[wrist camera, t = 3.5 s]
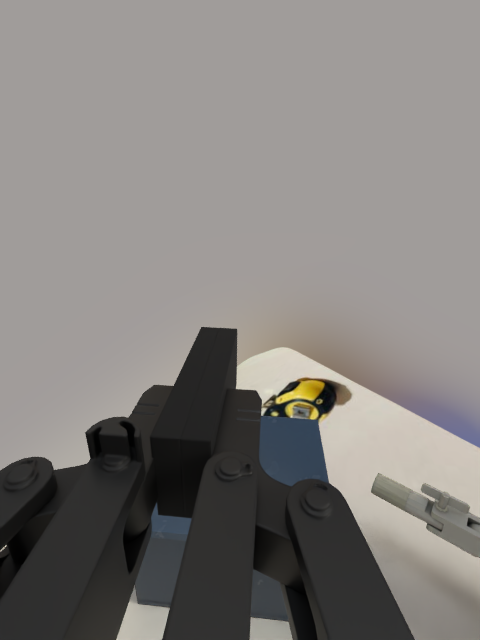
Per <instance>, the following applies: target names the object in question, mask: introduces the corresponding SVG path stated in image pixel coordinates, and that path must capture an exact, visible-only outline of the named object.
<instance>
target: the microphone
mask: <svg viewBox="0 0 480 640" xmlns="http://www.w3.org/2000/svg"><path fill="white" fill-rule="evenodd" d="M421 491H422V492H423V493H425V494H427V495H429V496H431V497H433V498H435V502H433V501H431V500H429V499H428V498H426V497H424V496H422V495H420V494H419V493H417V492H415V491H413V490H411V489H409V488H407V487H405V486H403V485H401V484H399V483H397V482H395V481H394V480H392V479H390V478H388V477H386V476H384V475H382V474H379V473H378V475H377V476H376V478H375V481H374V483H373V486H372V489H371V492H372V493H373V494H374V495H376V496H378V497H380V498H382V499H384V500H385V501H387V502H389V503H391V504H393V505H394V506H396V507H398V508H400V509H402V510H404V511H405V512H407V513H409V514H411V515H413V516H415V517H417V518H419V519H421V520H423V521H425V522H426V523H427V526H426V528H427V530H428V531H430V532H432V533H434V534H436V535H437V536H439V537H441V538H443V539H444V540H446V541H448V542H450V543H452V544H453V545H455V546H457V547H459V548H460V549H462V550H464V551H466V552H467V553H469V554H471V555H473V556H475V557H479V558H480V518H479V517H477V516H475V515H473V514H471V513H469V509H470V506H469V505H468V504H467V503H465V502H463V501H461V500H458V499H456V498H454V497H452V496H450V495H449V494H448V493H447V492H445V491H444V492H442V491H440V490H438V489H436V488H434V487H432V486H430V485H428V484H426V483H425V484H423V485H422V488H421Z"/></svg>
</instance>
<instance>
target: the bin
mask: <svg viewBox="0 0 480 640" xmlns="http://www.w3.org/2000/svg"><path fill="white" fill-rule="evenodd" d="M185 544H186V541H180V540H170V539H160V538H150V540H149V543H148V546H147V549H146V552H145V555H144V558H143V561H142V564H141V567H140V570H139V573H138V576H137V579H136V582H135V588H136V594H137V601H138V604H145V605H154V606H162V607H170V606H171V602H172V598H173V594H174V589H175V585H176V581H177V577H178V573H179V569H180V565H181V560H182V556H183V552H184V548H185ZM251 617H256V618H265V619H274V620H282V621H289V620H288V616H287V612H286V607H285V603H284V599H283V594H282V590H281V586H280V582H278V581H276V580H274V579H272V578H270V577H268V576H266V575H264V574H262V573H260V572H258V571H256V570H254V569H253V581H252V600H251Z"/></svg>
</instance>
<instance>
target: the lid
mask: <svg viewBox="0 0 480 640" xmlns="http://www.w3.org/2000/svg"><path fill="white" fill-rule="evenodd" d="M259 460H260V464H261V466H262V468H263V469H264V471H265V472H266V473H267V474H268V475H269V476H270V477H272V478H273V479H275V480H277V481H279V482H281V483H284V484H286V485H289V486H293V485H294V484H295V483H296V482H298V481H301V480H304V479H319V480H322V481H324V482H327V483H329V480H328V475H327V469H326V464H325V458H324V453H323V447H322V442H321V436H320V431H319V425H318V420H311V419H297V418H283V417H270V416H261V427H260V446H259ZM191 519H192V518H183V517H172V516H162V515H158V509H157V503H156V505H155V508H154V511H153V514H152V517H151V520H152V533H151V537H150V538H160V539H170V540H180V541H186V540H187V536H188V532H189V527H190V523H191Z"/></svg>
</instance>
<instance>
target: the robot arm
mask: <svg viewBox="0 0 480 640" xmlns="http://www.w3.org/2000/svg"><path fill="white" fill-rule="evenodd" d="M236 375H237V329H229V328H209V327H201V329H200V331H199V334H198V336H197V338H196V340H195V342H194V344H193V346H192V348H191V350H190V353H189V355H188V357H187V359H186V361H185V363H184V365H183V367H182V369H181V371H180V374H179V376H178V378H177V380H176V382H175V384H174V386H164V385H153V386H152V387H151V388H149V389H148V390H147V391H145V392H144V393H143V394H142V396H141V398H140V400H139V401H138V403H137V405H136V406H135V408H134V410H133V411H132V414H131V415H130V416H129V418H126V417H113V418H109V419H105V420H102V421H100V422H98V423H96V424H95V425H93V426H92V427H91V428H90V429H89V430H87V432H86V438H87V443H88V448H89V453H90V458H91V459H90V461H89V462H88V463H87V464H84V465H80V466H76V467H70V468H64V469H58V470H54V469H53V466H52V463H51V462H50V461H49V460H47V459H46V458H42V457H31V458H24V459H21V460H19V461H16V462H14V463H11V464H10V465H8V466H7V467H5V468H4V469H2V470H1V471H0V550H1V549H2V548H3V547H4V546H5V545H6V544H7V547H6V548H5V549H4V550H2V551H1V552H0V640H116V638H117V635H118V633H119V630H120V627H121V624H122V621H123V618H124V615H125V612H126V609H127V606H128V603H129V600H130V597H131V594H132V591H133V588H134V585H135V582H136V579H137V576H138V573H139V570H140V567H141V564H142V561H143V558H144V555H145V552H146V549H147V546H148V543H149V540H150V537H151V533H152V520H151V517H152V514H153V511H154V508H155V505H156V503H157V509H158V515H162V516H172V517H183V518H192V519H191V523H190V527H189V532H188V536H187V540H186V544H185V548H184V552H183V556H182V560H181V565H180V569H179V573H178V577H177V581H176V585H175V589H174V594H173V598H172V602H171V606H170V610H169V614H168V618H167V623H166V627H165V631H164V635H163V639H162V640H249V637H250V619H251V600H252V581H253V569H254V570H256V571H258V572H260V573H262V574H264V575H266V576H268V577H270V578H272V579H274V580H276V581H278V582H280V586H281V590H282V594H283V599H284V603H285V607H286V612H287V616H288V620H289V624H290V629H291V633H292V637H293V640H415V639H414V637H413V635H412V633H411V631H410V629H409V627H408V625H407V623H406V621H405V619H404V617H403V615H402V613H401V611H400V609H399V607H398V605H397V603H396V601H395V599H394V597H393V595H392V593H391V590H390V588H389V586H388V584H387V582H386V580H385V578H384V576H383V574H382V572H381V570H380V568H379V566H378V564H377V562H376V560H375V558H374V556H373V554H372V552H371V550H370V548H369V546H368V544H367V542H366V540H365V538H364V536H363V534H362V532H361V530H360V528H359V526H358V524H357V522H356V520H355V518H354V516H353V514H352V512H351V510H350V508H349V506H348V504H347V502H346V500H345V498H344V497H343V495H342V494H341V493H340V491H339V490H338V489H336V488H335V487H334V486H332V485H331V484H329V483H327V482H324V481H322V480H319V479H304V480H301V481H298V482H296V483H295V484H294V485H293V486H289V485H286V484H284V483H281V482H279V481H277V480H275V479H273V478H272V477H270V476H269V475H268V474H267V473H266V472H265V471H264V469H263V468H262V466H261V464H260V460H259V446H260V427H261V407H262V400H261V398H260V396H259V395H258V393H257V391H255V390H240V389H236Z"/></svg>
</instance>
